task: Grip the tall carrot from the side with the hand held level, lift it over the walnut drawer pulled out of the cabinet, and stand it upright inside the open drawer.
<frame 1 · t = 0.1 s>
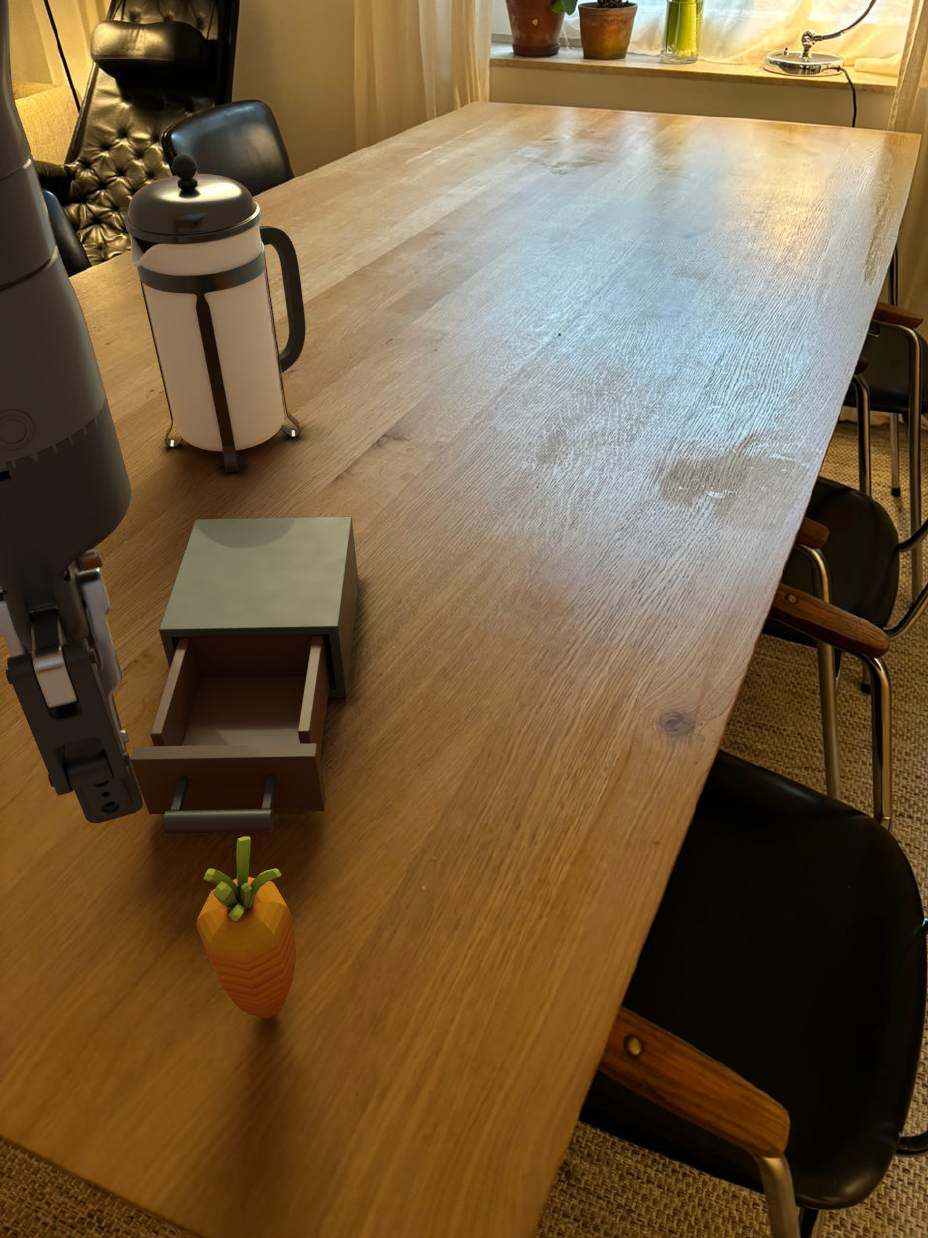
hand: (104, 738, 43), 25 cm above the table, tool pointing down, fingers open, 8 cm apart
drawer: (240, 737, 72), point 4 cm above the table, slide at 11.0 cm
carrot: (270, 1014, 60), on the table
cabinet: (274, 638, 85), on the table
coffee press: (240, 435, 112), on the table
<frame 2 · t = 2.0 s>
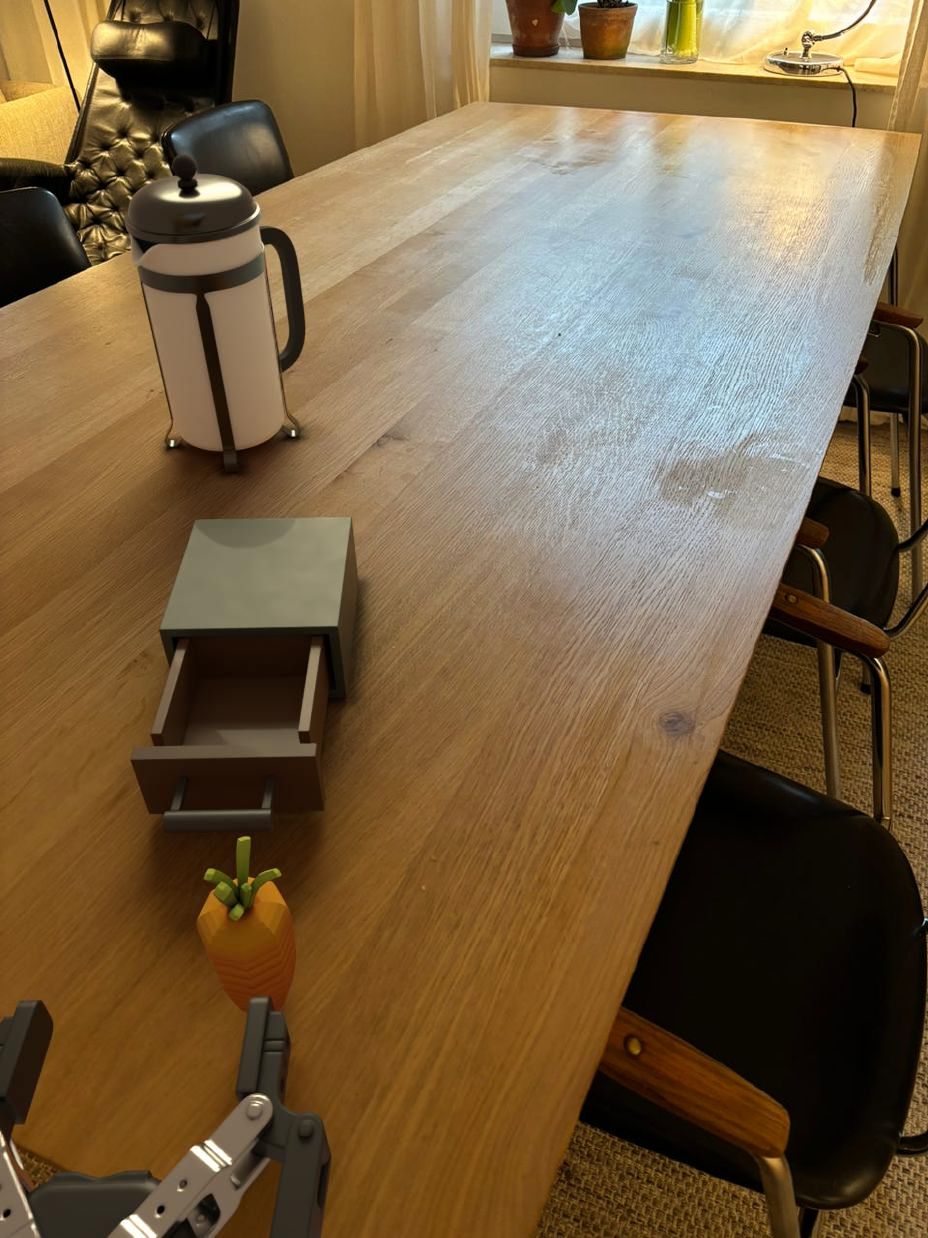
hand: (150, 1008, 37), 21 cm above the table, tool horizontal, fingers open, 8 cm apart
nothing on the table moved.
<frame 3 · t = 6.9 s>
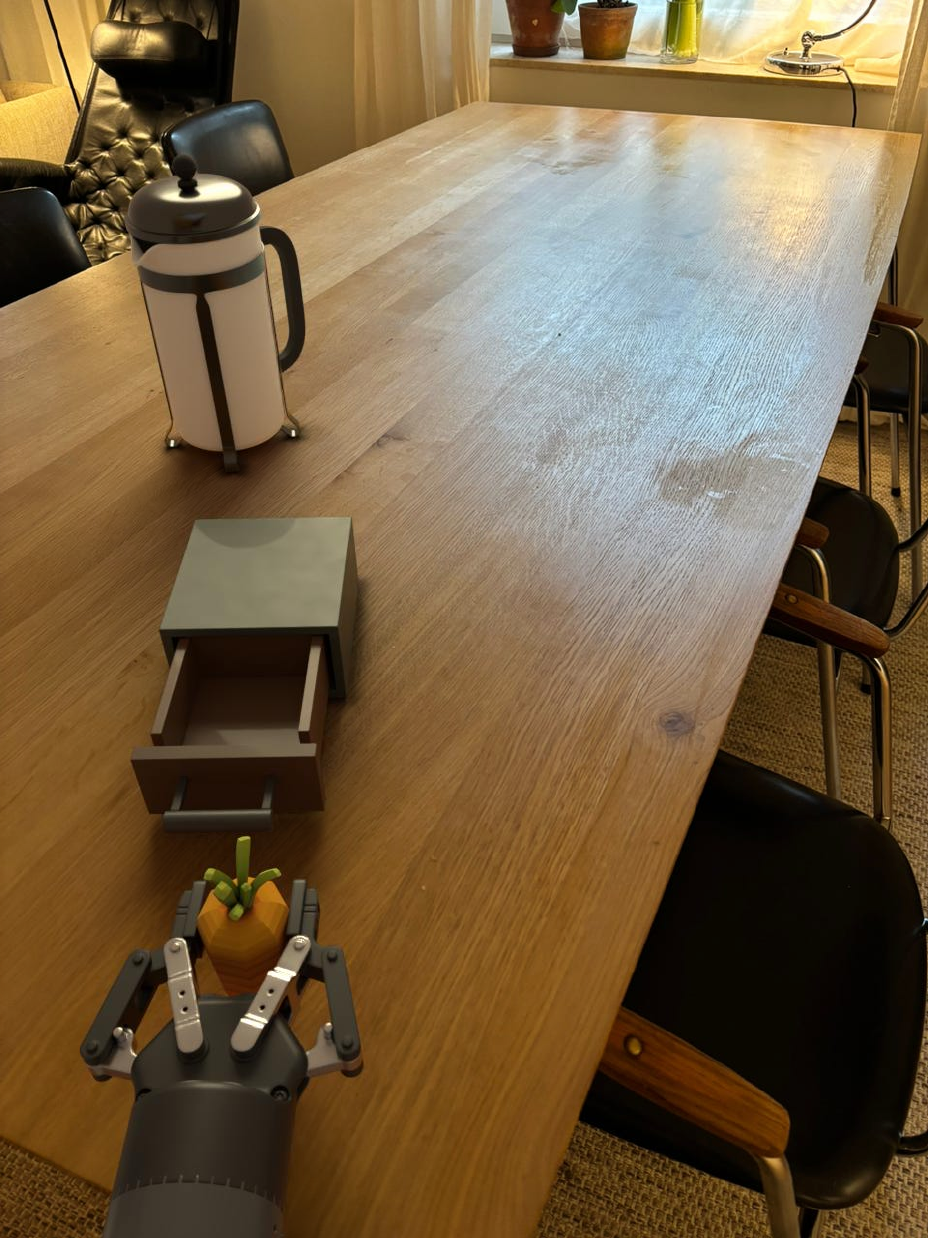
hand: (252, 889, 56), 9 cm above the table, tool horizontal, fingers closed on carrot, 5 cm apart
carrot: (269, 1014, 60), on the table, touching gripper
everything else where it was.
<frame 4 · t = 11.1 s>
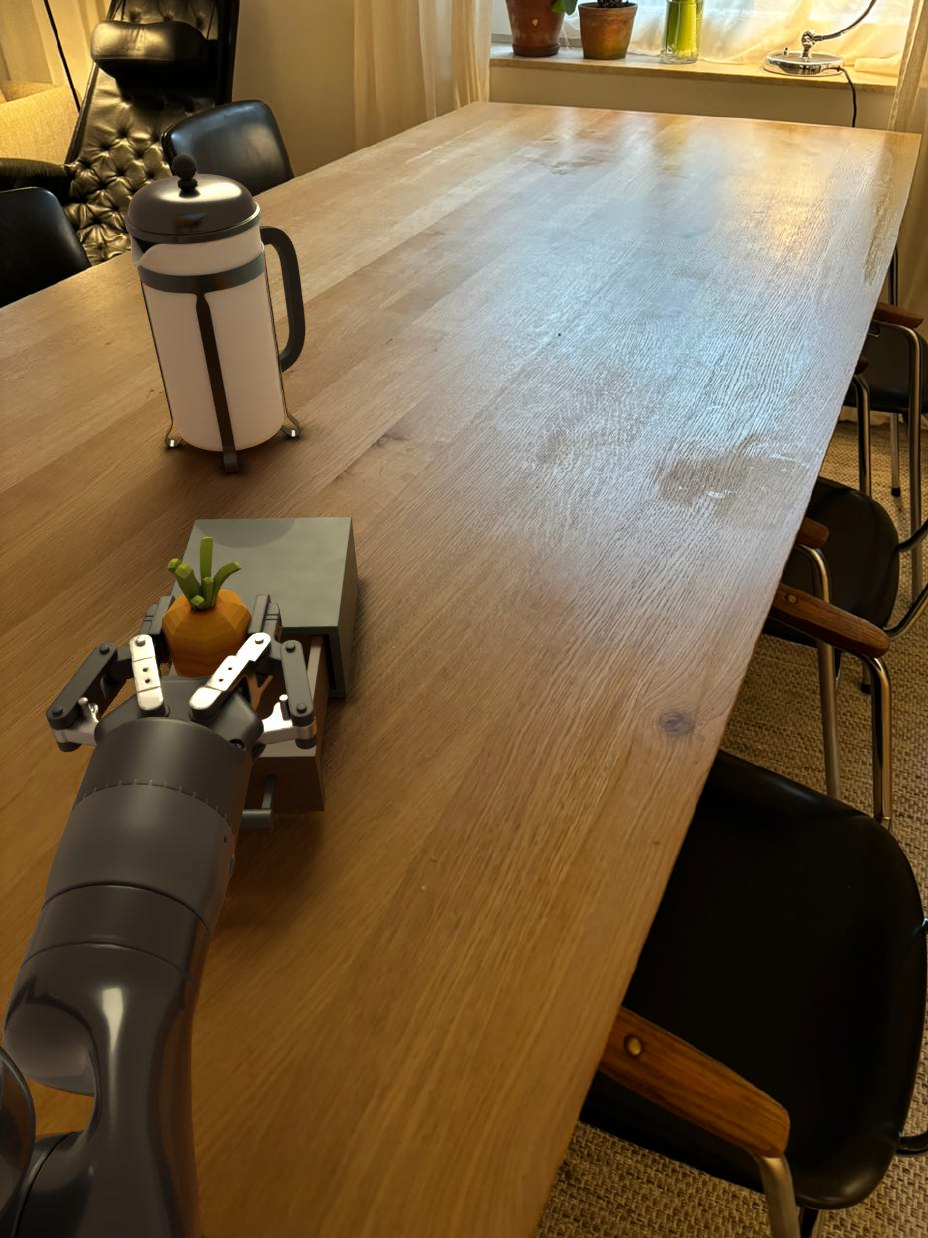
hand: (218, 607, 58), 20 cm above the table, tool horizontal, fingers closed on carrot, 5 cm apart
carrot: (235, 747, 62), point 10 cm above the table, touching gripper
everything else where it was.
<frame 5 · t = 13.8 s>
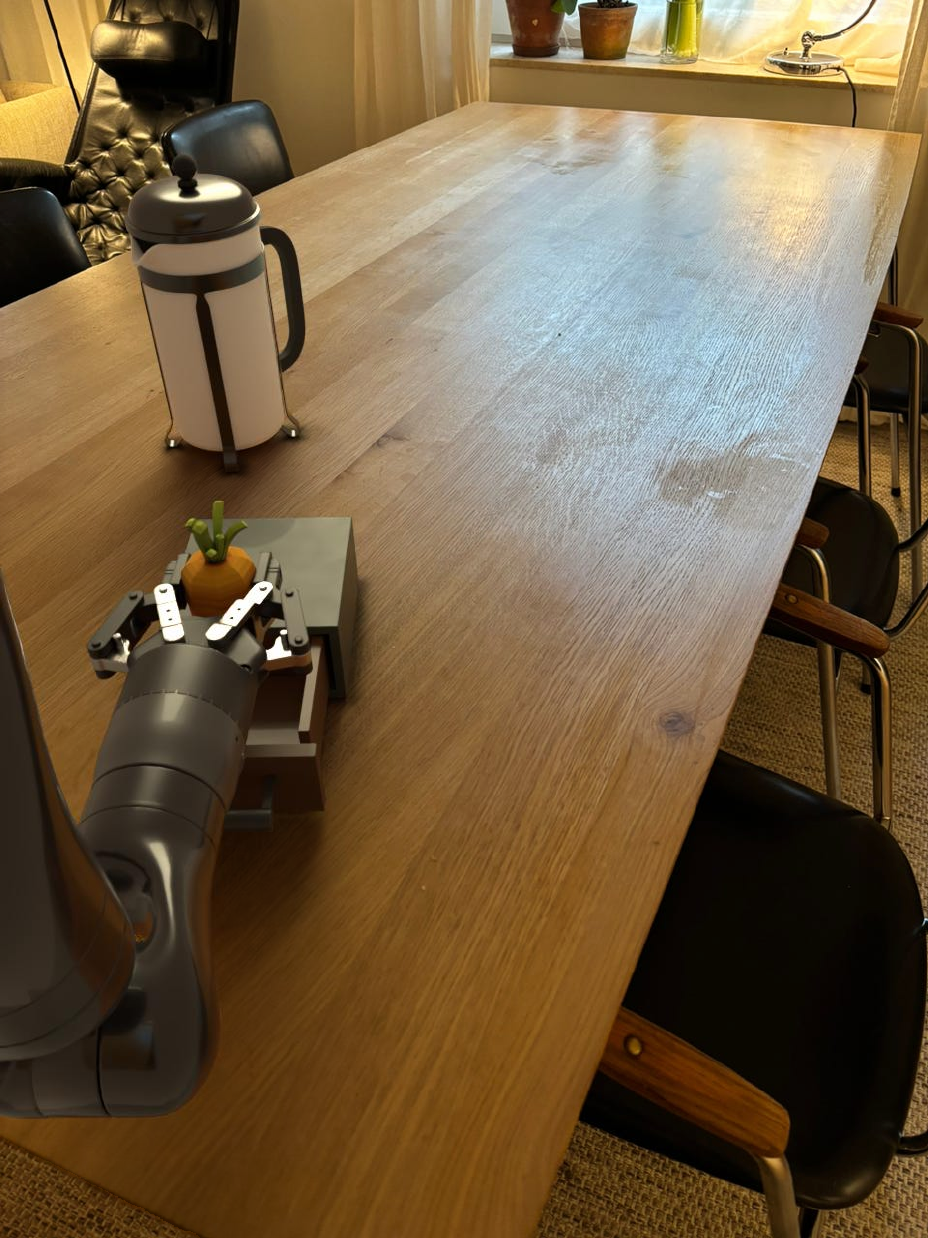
hand: (227, 563, 68), 15 cm above the table, tool horizontal, fingers closed on carrot, 5 cm apart
carrot: (243, 686, 72), point 6 cm above the table, touching gripper
everything else where it was.
when the fingers open (11 cm above the table, at t = 15.6 s): carrot stays where it is, resting on drawer.
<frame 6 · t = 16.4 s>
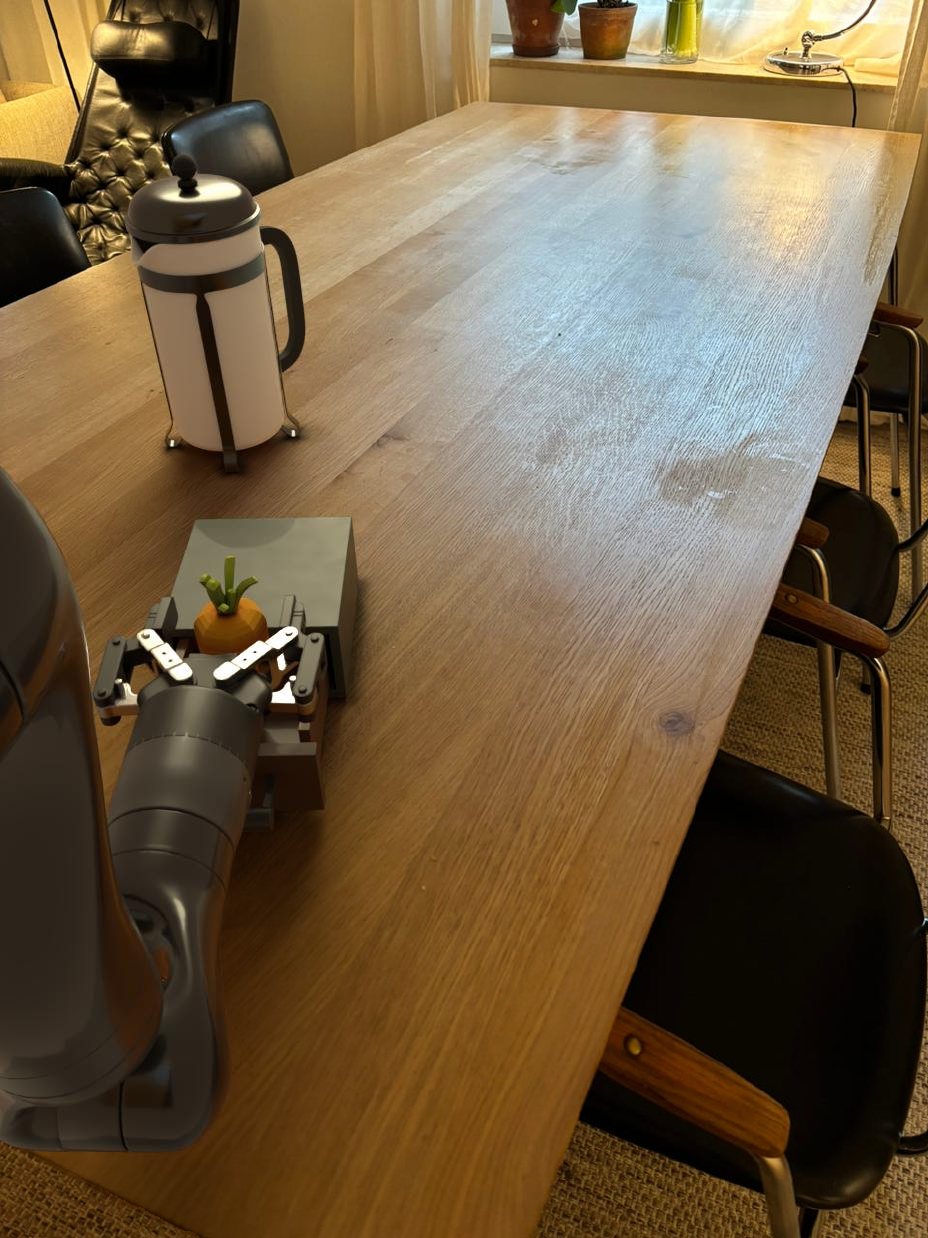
hand: (231, 605, 70), 12 cm above the table, tool horizontal, fingers open, 8 cm apart
drawer: (240, 736, 72), point 4 cm above the table, slide at 10.9 cm, touching carrot
carrot: (252, 727, 75), point 2 cm above the table, touching drawer
everything else where it was.
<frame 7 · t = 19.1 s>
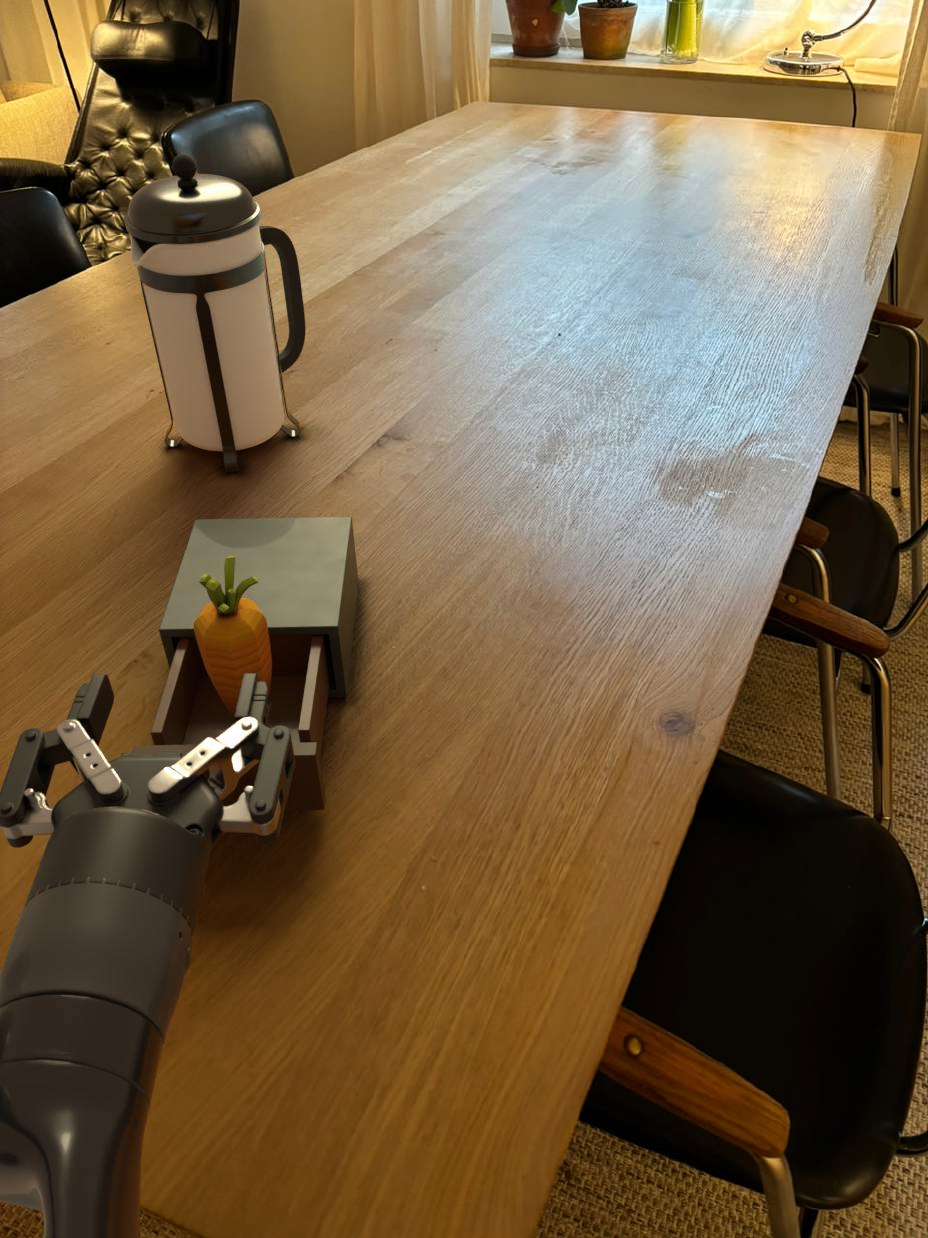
hand: (178, 683, 57), 17 cm above the table, tool horizontal, fingers open, 8 cm apart
nothing on the table moved.
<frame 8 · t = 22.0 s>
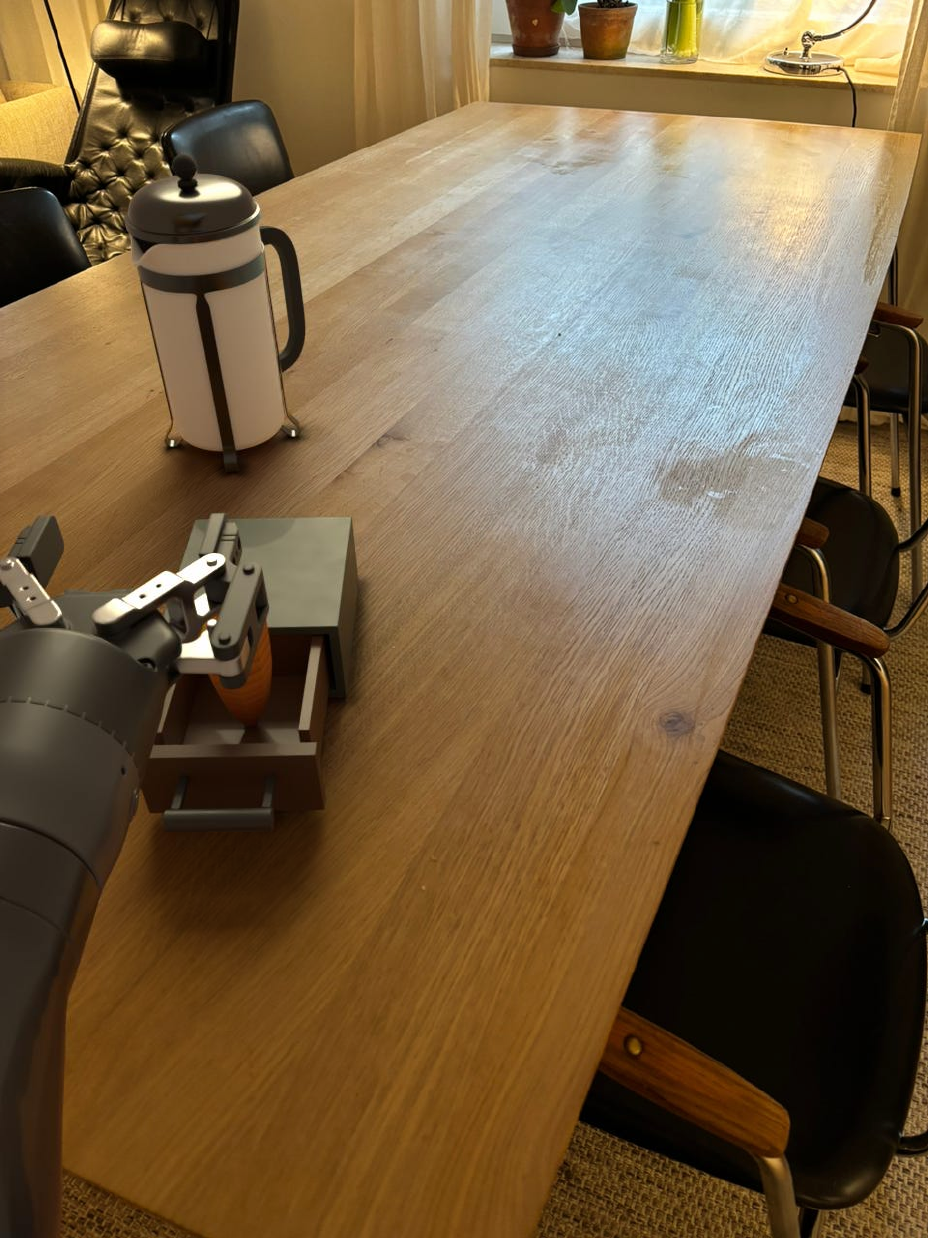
hand: (137, 528, 50), 28 cm above the table, tool horizontal, fingers open, 8 cm apart
nothing on the table moved.
at the end: carrot inside the target area in the drawer (0.4 cm from its centre), point 1.8 cm above the cabinet's base; carrot tilted 0°; drawer slide at 10.9 cm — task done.
